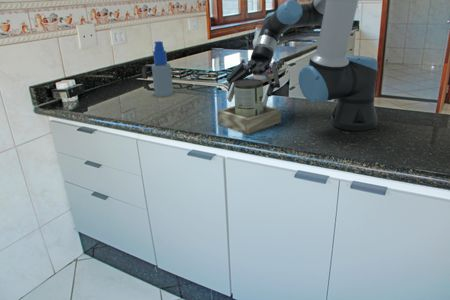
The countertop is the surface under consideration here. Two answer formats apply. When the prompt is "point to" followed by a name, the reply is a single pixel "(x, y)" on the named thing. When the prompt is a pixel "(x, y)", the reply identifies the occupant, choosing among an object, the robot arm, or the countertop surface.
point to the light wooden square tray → (249, 119)
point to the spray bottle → (161, 72)
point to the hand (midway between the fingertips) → (245, 101)
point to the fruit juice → (255, 76)
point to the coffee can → (248, 97)
